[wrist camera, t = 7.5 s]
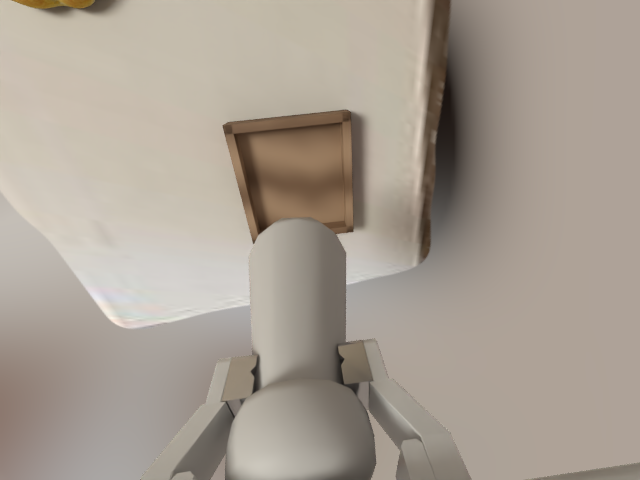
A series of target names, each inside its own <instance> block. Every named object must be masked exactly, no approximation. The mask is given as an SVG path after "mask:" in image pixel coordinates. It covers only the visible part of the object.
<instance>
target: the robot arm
mask: <svg viewBox="0 0 640 480" xmlns="http://www.w3.org/2000/svg"><path fill="white" fill-rule="evenodd" d="M337 347H338V354H339V361H340V363H341V372H342V381H343V386H346V387H348V388H351V389H352V391H353V392H354V393H355V394H356V396H357V397H358V398H359V399H360V401H361V402H362V404H363V405H364V407H365V409H366V410H369V411H370V413H371V414H372V415H373V416H374V418H375V419H376V420H377V422H378V423H379V424H380V425H381V427H382V428H383V429H384V431H385V432H386V433H387V434H388V436H389V437H390V438H391V440H392V441H393V442H394V443H395V445H396V446H397V447H398V449H399V450H400V455H399V461H398V466H397V471H396V479H397V480H471V477H470V475H469V473H468V471H467V469H466V466H465V464H464V462H463V460H462V458H461V455H460V453H459V451H458V449H457V446H456V444H455V442H454V440H453V437H452V435H451V433H450V432H449V431H448V430H447V429H446V428H445V427H444V426H443V425H442V424H441V423H440V422H439V421H437V420H436V419H435V418H434V417H433V416H432V415H431V414H430V413H429V412H428V411H427V410H425V408H424V407H423V406H422V405H420V404H419V403H418V402H417V401H416V400H415V399H414V398H413V397H412V396H411V395H410V394H409V393H408V392H407V391H406V390H405V389H403V388H402V387H401V386H400V385H399V384H398V383H397V382H396V381H395V380H394V379H389V377H388V374H387V371H386V368H385V365H384V362H383V359H382V356H381V353H380V350H379V347H378V343H377V341H376V340H375V339H368V340H359V341H351V342H345V343H338V344H337ZM257 366H258V355H249V356H241V357H231V358H223V359H219V361H218V362H217V364H216V368H215V371H214V375H213V379H212V382H211V386H210V389H209V393H208V397H207V401H206V404H204V405H201V406H200V407H199V408H198V410H197V411H196V412H195V413H194V414H193V416H192V417H191V418H190V419H189V420H188V422H187V423H186V424H185V425H184V426H183V428H182V429H181V430H180V431H179V433H178V434H177V435H176V436H175V437H174V438H173V439H172V441H171V442H170V443H169V444H168V446H167V447H166V448H165V449H164V450H163V451H162V453H161V454H160V455H159V456H158V457H157V459H156V460H155V461H154V462H153V464H152V465H151V466H150V467H149V468H148V470H147V471H146V472H145V473H144V474H143V475H142V477H141V479H140V480H210V479H211V477H212V476H213V474H214V472H215V471H216V469H217V467H218V465H219V464H220V462H221V460H222V459H223V457H224V455H225V454H226V447H227V443H228V438H229V434H230V429H231V425H232V422H233V420H234V418H235V416H236V414H237V412H238V410H239V409H240V407H241V406H242V404H243V403H244V401H245V399H246V398H247V397H248V396H250V395H252V394H253V393H255V392H256V381H255V378H254V376H255V374H256V371H257ZM528 480H640V463H634V464H627V465H620V466H614V467H607V468H601V469H594V470H588V471H580V472H574V473H567V474H561V475H554V476H547V477H541V478H534V479H528Z"/></svg>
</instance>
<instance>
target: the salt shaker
mask: <svg viewBox="0 0 640 480" xmlns="http://www.w3.org/2000/svg"><path fill="white" fill-rule="evenodd" d="M249 281H250V307H251V334H252V355H258V366H257V371H256V374H255V376H254V378H255V381H256V392H255V393H253V394H252V395H250V396H248V397H247V398H246V399H245V401H244V403H243V404H242V406H241V407H240V409H239V410H238V412H237V414H236V416H235V418H234V420H233V422H232V425H231V429H230V434H229V438H228V443H227V447H226V466H225V480H371V477H372V475H373V472H374V469H375V466H376V455H375V442H374V434H373V430H372V427H371V423H370V420H369V416H368V413H367V411H366V409H365V407H364V405H363V404H362V402H361V401H360V399H359V398H358V397H357V396H356V394H355V393H354V392H353V391H352V389H351V388H348V387H346V386H343V381H342V372H341V363H340V361H339V354H338V347H337V344H338V343H345V342H346V341H345V339H346V335H345V334H346V252H345V250H344V248H343V246H342V244H341V242H340V241H339V239H338V237H337V235H336V234H335V232H333V231H332V230H330V229H329V228H328V227H326V226H325V225H323V224H322V223H321V222H319V221H317V220H315V219H313V218H311V217H298V218H297V217H295V218H281V219H279V220H278V221H276V222H274V223H273V224H272V225H271V226H269V227H268V228H267V229H266V230H264V231H263V232H262V233H260V234H259V235H258V237H257V239H256V241H255V243H254V246H253V248H252V250H251V253H250V255H249Z"/></svg>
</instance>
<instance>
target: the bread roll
mask: <svg viewBox="0 0 640 480" xmlns="http://www.w3.org/2000/svg"><path fill="white" fill-rule="evenodd" d="M12 1H15V2H17V3H20V4H23V5H26V6H29V7H33V8H41V9H45V8H52V7H57V6H69V7H73V8H85V7H88V6H90V5H92V4H93V3H94V2H95V0H12Z"/></svg>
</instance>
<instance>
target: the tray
mask: <svg viewBox="0 0 640 480" xmlns="http://www.w3.org/2000/svg"><path fill="white" fill-rule="evenodd" d="M223 129H224V133H225V137H226V141H227V145H228V149H229V152H230V156H231V160H232V164H233V168H234V172H235V175H236V179H237V183H238V187H239V191H240V195H241V198H242V202H243V206H244V210H245V214H246V218H247V221H248V225H249V229H250V233H251V237H252V241H253V244H254V243H255V241H256V239H257V237H258V235H259V234H260V233H262V232H263V231H264V230H266V229H267V228H268V227H269V226H271V225H272V224H273V223H274V222H276V221H278V220H279V219H281V218H295V217H297V218H298V217H311V218H313V219H315V220H317V221H319V222H321V223H322V224H323V225H325V226H326V227H328V228H329V229H330V230H332V231H333V232H335V234H339V233H348V232H353V191H352V149H351V112H350V111H348V110H339V111H330V112H320V113H311V114H301V115H292V116H282V117H273V118H264V119H254V120H245V121H235V122H228V123H226V124H224V125H223Z"/></svg>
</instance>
